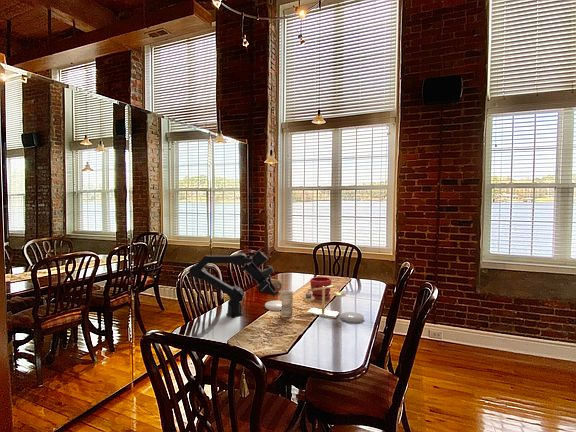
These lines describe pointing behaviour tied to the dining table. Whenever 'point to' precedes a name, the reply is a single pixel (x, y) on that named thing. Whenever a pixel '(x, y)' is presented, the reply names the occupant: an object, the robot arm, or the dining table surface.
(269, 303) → the cream dish
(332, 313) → the brass balance
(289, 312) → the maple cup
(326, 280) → the plant pot
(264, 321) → the dining table surface
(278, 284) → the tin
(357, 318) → the slate dish
